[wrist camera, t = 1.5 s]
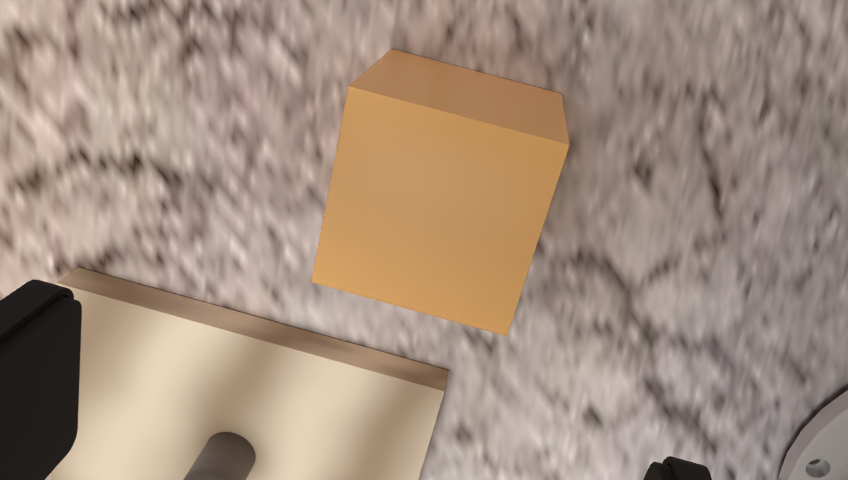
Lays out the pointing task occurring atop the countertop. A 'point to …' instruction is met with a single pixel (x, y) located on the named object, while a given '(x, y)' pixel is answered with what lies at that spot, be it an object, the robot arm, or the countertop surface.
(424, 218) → the tan matte cube
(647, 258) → the countertop surface
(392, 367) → the post board
